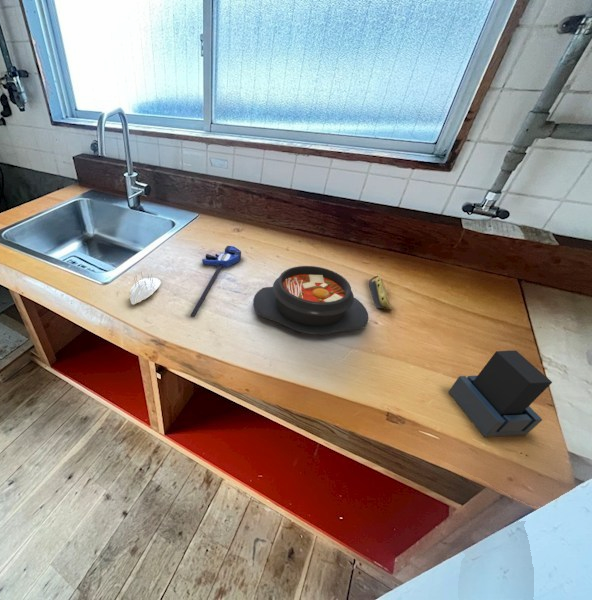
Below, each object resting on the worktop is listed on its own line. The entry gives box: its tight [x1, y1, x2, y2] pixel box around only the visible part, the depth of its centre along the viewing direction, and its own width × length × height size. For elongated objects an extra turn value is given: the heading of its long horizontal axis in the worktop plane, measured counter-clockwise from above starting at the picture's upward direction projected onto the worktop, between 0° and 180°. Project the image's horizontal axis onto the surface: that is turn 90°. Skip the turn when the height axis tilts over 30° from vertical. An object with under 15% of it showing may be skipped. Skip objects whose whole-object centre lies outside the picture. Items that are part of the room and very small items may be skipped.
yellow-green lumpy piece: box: [368, 275, 393, 311], centre depth 78 cm, size 3×14×3 cm
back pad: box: [472, 350, 553, 417], centre depth 49 cm, size 6×3×10 cm, turn 1°
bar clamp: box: [190, 245, 242, 317], centre depth 86 cm, size 32×2×10 cm
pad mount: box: [448, 374, 543, 438], centre depth 51 cm, size 8×6×4 cm
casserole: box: [252, 265, 369, 336], centre depth 72 cm, size 25×19×8 cm
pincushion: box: [129, 271, 162, 306], centre depth 81 cm, size 12×6×6 cm, turn 153°
